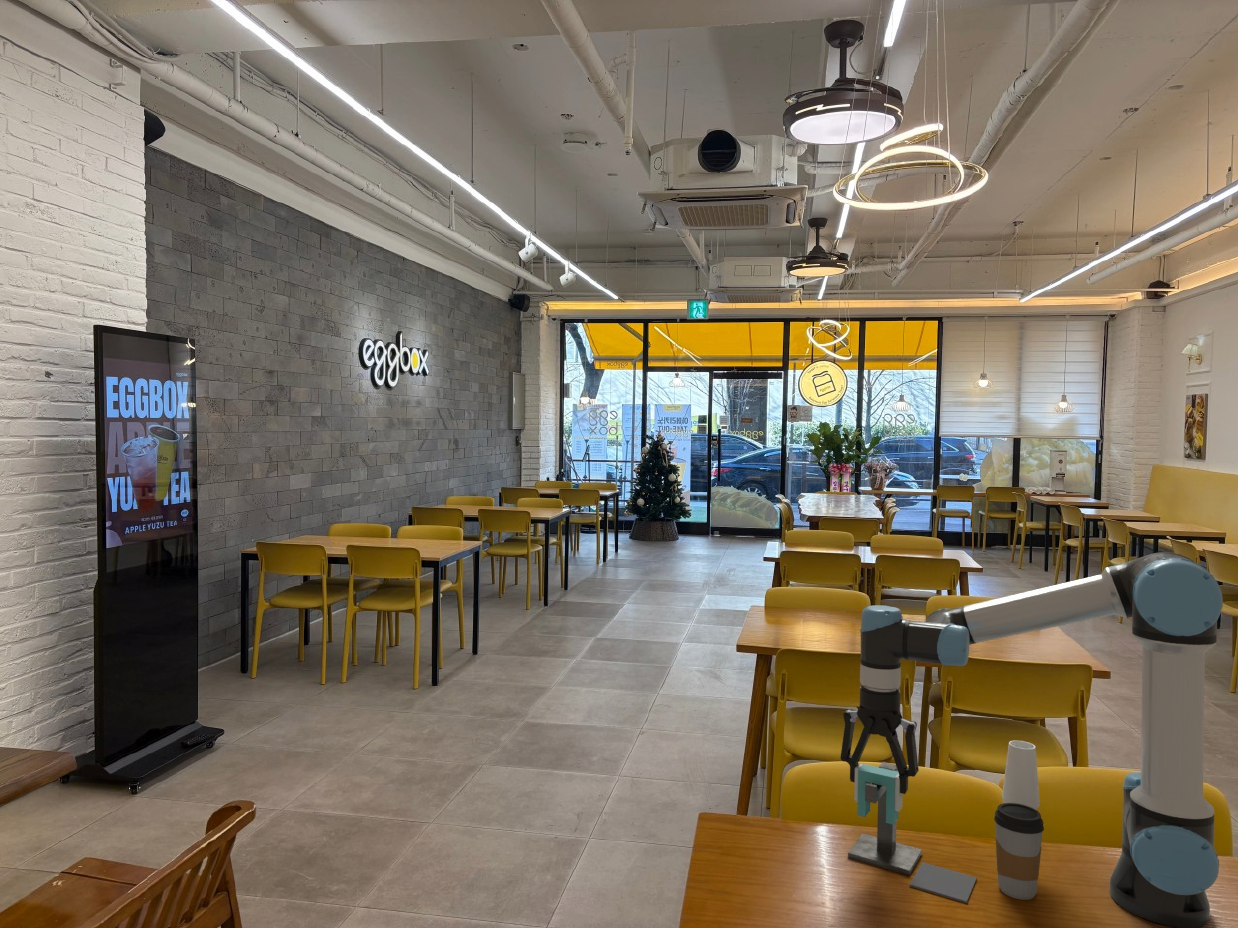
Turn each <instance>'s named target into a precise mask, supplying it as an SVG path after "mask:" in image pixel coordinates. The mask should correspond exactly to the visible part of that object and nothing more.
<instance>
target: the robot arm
mask: <svg viewBox="0 0 1238 928" xmlns="http://www.w3.org/2000/svg"><path fill="white" fill-rule="evenodd" d="M1223 602H1224V600H1223V593H1222V589H1221V587H1220V585H1219V584H1218V581H1217V580H1216V578H1215V576H1214V575H1213V574H1212V573H1211V572H1209V570H1208V569H1206V568H1205V567H1204V566H1202V565H1200V564H1199V563H1198V562H1196V561H1194V560H1192V559H1191V558H1190V557H1188V556H1186V555H1183V554H1180V553H1177V552H1168V551H1167V552H1166V551H1161V552H1155V553H1151V554H1148V555H1144V556H1141V557H1139V558H1135V559H1132V560H1128V561H1126V562H1122V563H1119V564H1116V565H1115V564H1114V565H1111V566H1107V567H1104V569H1103V571H1102V573H1100V574H1098V575H1097V574H1096V575H1093V576H1089V577H1085V578H1084V577H1083V578H1079V579H1075V580H1072V581H1070V580H1069V581H1067V582H1062V583H1056V584H1055V585H1050V586H1045V587H1040V588H1036V589H1032V590H1027V591H1022V592H1020V593H1019V592H1018V593H1016V594H1010V595H1006V596H1001V597H998V598H993V599H990V600H989V599H988V600H984V601H980V602H976V603H972V604H971V603H970V604H967V605H964V606H959V607H954V608H940V609H937V610H935V611H933V612H931V613H930V614H929V615H928V616H927V617H926V619H925V620H924V621H922V620H921V621H919V620H910V619H909V620H908V619H905V618H903V614H902V611H901V609H900V608H898V607H894V606H889V605H880V604H879V605H878V604H877V605H874V604H873V605H869V606H866V607H864V608H863V610H862V612H861V622H860V623H861V624H860V629H859V632H860V667H859V669H860V670H859V683H860V684H861V685H860V686H859V707H858V709H857V710H852V709H850V708H849V709H847V710H845V711H844V713H843V714H842V715H843V720H844V730H843V735H842V736H843V737H842V743H841V750H840V761H842V762H845V763H847V764H848V765H849V780H850V782H851V783H854V795H853V797H854V801H855V802H857V803H858V769H859V768H860V767H861V766H862V765H863V764H864V763H859V762H860V761H861V758H862V755H863V753H864V751H865V748H866V746H867V744H868V741H869V739H870V737H871V736H872V735H873V736H874V735H875V736H876V735H879V736H881V737H884V738H885V739H886V742H887V743H888V747H889V749H890V751H891V754H892V757H893V761H894V765H896V767H897V770H898V774H897V775H896V777H895V811H897V812H899V813H900V811H901V810H902V808H903V795H906V793H907V792H908V790H909V778H910V777H913V778H914V777H916V775H918V772H919V771H920V770H919V762H918V752H917V744H916V743H917V742H916V730H917V727H918V723H917V722H916V721H915V720H912V721H910V720H907V719H904V718H903V715H902V713H901V690H900V688H901V678H902V677H901V676H902V675H901V674H902V671H901V669H902V667H901V666H902V663H901V661H902V660H906V661H912V662H913V661H914V662H921V663H928V664H936V665H941V666H942V665H944V666H945V667H949V666H954V667H955V666H956V667H963V666H966V665H967V664H968V661H969V656H970V655H969V654H970V646H972V645H974V644H979V643H983V642H988V641H993V640H998V639H1002V638H1003V639H1004V638H1008V637H1011V636H1019V635H1021V634H1027V633H1031V632H1035V631H1041V630H1047V629H1050V628H1056V627H1061V626H1066V625H1070V624H1075V623H1081V622H1085V621H1089V620H1095V619H1100V618H1104V617H1105V618H1106V617H1108V616H1109V617H1110V616H1113V615H1114V616H1115V615H1116V616H1118V617H1119V616H1120V617H1122V618H1124V619H1129V618H1131V621H1132V623H1131V627H1132V628H1131V635H1132V637H1134V638H1135V640H1137V642H1138V643H1140V645H1141V646H1142V650H1141V651H1142V653H1141V654H1142V655H1141V656H1142V658H1141V661H1142V664H1141V665H1142V666H1141V667H1142V668H1141V671H1142V673H1141V737H1140V739H1141V741H1140V744H1141V746H1140V747H1141V748H1140V752H1141V753H1140V755H1141V756H1140V772H1138V771H1137V772H1130V773H1128V774H1126V775H1125V777H1124V779H1123V780H1124V781H1123V786H1121V787H1122V790H1123V801H1122V802H1123V804H1122V805H1123V806H1122V835H1121V837H1122V838H1121V839H1122V840H1121V844H1122V845H1121V854H1120V856H1119V858H1118V861H1117V863H1116V865H1115V867H1114V869H1113V872H1112V874H1111V876H1110V880H1109V894H1110V897H1111V898H1112V899H1113V901H1114V902H1116V904H1118V905H1119V906H1120V907H1121V908H1123V909H1125V910H1127V912H1130V913H1132V914H1134V915H1136V916H1138V917H1140V918H1143V919H1144V920H1147V921H1150V922H1153V923H1157V924H1160V925H1162V926H1163V925H1165V926H1169V927H1176V928H1201V927H1204V926H1206V925H1208V923H1209V921H1210V918H1211V915H1210V914H1211V906H1210V902H1209V898H1208V896H1207V892H1206V890H1209V889H1210V888H1211V887H1212V886H1213V885H1214V884H1215V883H1216V881H1217V879H1218V877H1219V872H1220V859H1219V858H1218V856H1219V855H1218V853H1217V851H1216V850H1215V808H1214V806H1213V805H1211V804H1210V803H1209V801H1207V800H1206V799H1205V798H1204V762H1205V761H1204V749H1205V748H1204V747H1205V745H1204V744H1205V740H1204V739H1205V736H1204V735H1205V686H1206V685H1205V684H1206V683H1205V679H1206V676H1205V674H1206V672H1205V670H1206V653H1207V652H1208V651H1209V650H1211V649H1212V648H1213V647H1215V646H1216V645H1217V632H1218V619H1219V617H1220V615H1221V614H1222V609H1223V606H1224V605H1223V604H1224V603H1223ZM858 719H859V721H860V722H861V724H862V726H863V728H862V731H861V733H860V736H859V739H858V741H857V743H856V746H855V749H854V751H853V753H852V754H851V752H852V744H853V740H854V739H853V738H854V731H855V724H856V723H855V722H856V721H857V720H858ZM900 726H902V731H903V732H904V733H905V735H904V737H905V739H904V740H905V746H906V747H905V749H906V756H907V757H906V758H907V761H906V759H905V756H904V753H903V750H902V746H901V743H900V741H899V739H898V737H899V736H898V732H897V729H898V727H900Z"/></svg>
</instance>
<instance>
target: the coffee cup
mask: <svg viewBox="0 0 1238 928" xmlns="http://www.w3.org/2000/svg"><path fill="white" fill-rule="evenodd" d="M993 820H994V822H995V850H996V851H995V853H996V871H997V881H998V882H997V883H998V887H999V889H1000V891H1001V892H1002V893H1003V894H1004V895H1006V896H1008V897H1010V898H1013V899H1016V900H1024V901H1025V900H1027V901H1028V900H1032V899H1034V898H1035V896H1036V895H1037V890H1038V880H1039V877H1040V875H1039V874H1040V867H1041V865H1040V864H1041V854H1042V840H1043V832H1044V830H1045V827H1044V820H1043V819H1042V814H1041V813H1040V812H1039V811H1038V809H1037V810H1035V809H1033V808H1031V807H1029V806H1025V805H1022V804H1016V803H1004V802H1003V803H1000V804H999V805H997V809H996V810H995V811H994V818H993Z"/></svg>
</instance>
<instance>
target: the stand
mask: <svg viewBox="0 0 1238 928" xmlns="http://www.w3.org/2000/svg"><path fill="white" fill-rule="evenodd" d="M878 767H879V768H884V769H888V770H893V771H897V772H898V770H897V767H896V764H895V763H889V762H885V761H882V762H881V763H880V764H879V766H878ZM886 787H887V786H882V785H878V784H874V783H871V784H868V783H866V784H865V801H866V802H870V804H875V805H876V804H877V822H876V823H877V826H876V827H877V831H876V832H877V833H876V835H877V837H876V836H874V835H871V834H866V833H862V834H861V835H860V836H859V838H857V840H856V842H855V843H854V844H853V845H852V847H851V848H850V849H849V851H847V859H852V860H855V861H859V862H861V863H864V864H865V863H866V864H868V865H872V866H875V867H879V868H882V869H886V870H889V871H892V872H896V873H899V874H902V875H905V876H911V873H912V872H913V870H914V869H915V867H916V865H917V863H918V862H919V860H920V858H921V857H922V854H923V849H920V848H917V847H914V846H910V845H906V844H903V843H899V842H897V824H898V823H897V821H898V820H897V821H896V823H895V824H894V825H893V824H889V823H886ZM920 856H921V857H920Z"/></svg>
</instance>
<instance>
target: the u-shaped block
mask: <svg viewBox="0 0 1238 928" xmlns="http://www.w3.org/2000/svg"><path fill="white" fill-rule="evenodd" d="M862 764H863V765H862V766H861V767H860V768H859V769H858V802H857V808H856V809H857V811H856V813H857V816H858V817H861V818H867V816H868V814H869V813H870V812H871V803H870V802H866V801H865V784H866V783H868V784H871V783H874V784H878V785H882V786H887V787H886V823H889V824H893V825H894V824H895V823H896V821H898V820H899V818H900V817H899V816H900V815H899V814H900V811H899V812H897V811H895V777H896V775H897V774H898V772H897V771H893V770H888V769H884V768H879V766H874V765H869V764H865V763H862Z"/></svg>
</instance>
